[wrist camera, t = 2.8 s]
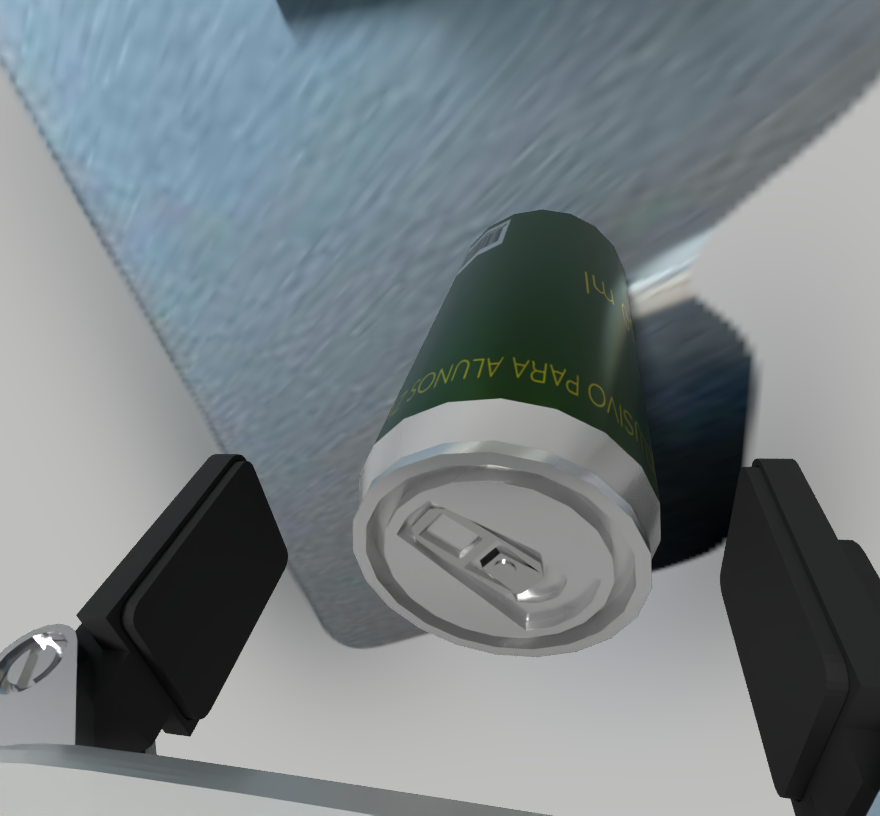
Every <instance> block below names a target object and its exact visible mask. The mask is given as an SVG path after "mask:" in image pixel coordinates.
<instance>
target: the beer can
mask: <svg viewBox="0 0 880 816" xmlns="http://www.w3.org/2000/svg"><path fill="white" fill-rule="evenodd" d="M660 541H661V533H660V501H659V494H658V488H657V481H656V475H655V468H654V462H653V455H652V449H651V442H650V436H649V429H648V423H647V416H646V410H645V403H644V396H643V390H642V383H641V377H640V370H639V364H638V357H637V351H636V344H635V338H634V331H633V325H632V318H631V312H630V305H629V299H628V292H627V286H626V279H625V273H624V269H623V267H622V264H621V262H620V260H619V257H618V255H617V253H616V250H615V248H614V246H613V245H612V244H611V243H610V242H609V241H608V240H607V239H606V238H605V237H604V235H603V234H602V233H601V232H600V231H599V230H598V229H597V228H596V227H595V226H593V225H591V224H589V223H587V222H585V221H583V220H581V219H579V218H577V217H575V216H573V215H572V214H568V213H561V212H555V211H548V210H537V211H531V212H525V213H519V214H514V215H512V216H510V217H508V218H506V219H504V220H502V221H500V222H499V223H497V224H495V225H493V226H491V227H489V228H488V229H487V230H486V231H485V232H484V233H483V235H482V236H481V237H480V238H479V239H478V240H477V241H476V242H475V243H474V244H473V245H472V246H471V248H470V250H469V252H468V254H467V256H466V258H465V260H464V262H463V264H462V266H461V268H460V270H459V272H458V274H457V276H456V278H455V280H454V282H453V285H452V287H451V289H450V291H449V293H448V295H447V297H446V299H445V301H444V303H443V305H442V307H441V309H440V311H439V313H438V315H437V317H436V319H435V321H434V323H433V325H432V327H431V329H430V332H429V334H428V336H427V338H426V340H425V342H424V344H423V346H422V348H421V350H420V352H419V354H418V356H417V358H416V360H415V362H414V364H413V366H412V368H411V370H410V372H409V374H408V376H407V379H406V381H405V383H404V385H403V387H402V389H401V391H400V393H399V395H398V397H397V399H396V401H395V403H394V405H393V407H392V409H391V411H390V413H389V415H388V417H387V419H386V421H385V424H384V426H383V428H382V430H381V432H380V434H379V436H378V438H377V440H376V442H375V444H374V446H373V448H372V450H371V452H370V455H369V457H368V459H367V461H366V463H365V465H364V467H363V469H362V472H361V474H360V476H359V509H358V511H357V513H356V515H355V517H354V520H353V552H354V554H355V556H356V558H357V561H358V563H359V565H360V568H361V570H362V572H363V575H364V577H365V579H366V581H367V582H368V583H369V584H370V585H371V587H372V588H373V589H374V590H375V591H376V592H377V593H378V595H379V596H380V597H381V598H382V599H383V600H384V601H385V603H386V604H387V605H388V606H389V607H390V608H392V609H393V610H395V611H396V612H397V613H399V614H400V615H402V616H403V617H404V618H406V619H407V620H409V621H410V622H412V623H413V624H414V625H416V626H417V627H419V628H420V629H422V630H425V631H427V632H429V633H431V634H434V635H436V636H438V637H440V638H443V639H445V640H447V641H449V642H452V643H454V644H456V645H460V646H464V647H468V648H473V649H477V650H481V651H484V652H488V653H493V654H498V655H514V656H515V655H516V656H530V657H540V656H547V655H555V654H562V653H570V652H577V651H579V650H582V649H584V648H587V647H590V646H592V645H595V644H597V643H600V642H602V641H605V640H608V639H610V638H612V637H613V636H614V635H615V634H617V633H618V632H619V631H620V630H621V629H623V628H624V627H625V626H626V625H628V624H629V623H630V622H631V621H633V620H634V619H635V618H636V617H637V616H638V614H639V612H640V610H641V608H642V606H643V605H644V603H645V600H646V599H647V596H648V595H649V593H650V591H651V589H652V574H651V560H652V557H653V555H654V553H655V551H656V549H657V547H658V545H659V543H660Z"/></svg>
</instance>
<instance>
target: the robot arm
mask: <svg viewBox="0 0 880 816" xmlns="http://www.w3.org/2000/svg"><path fill="white" fill-rule="evenodd" d="M287 560H288V552H287V549H286V546H285V544H284V541H283V539H282V536H281V534H280V531H279V529H278V526H277V524H276V521H275V519H274V516H273V514H272V511H271V509H270V507H269V504H268V502H267V499H266V497H265V494H264V492H263V489H262V487H261V484H260V482H259V479H258V477H257V474H256V472H255V469H254V467H253V465H252V464H251V463H250V462H248V461H246V459H245V458H244V457H243V456H242V455H239V454H215V455H212V456H211V457H209V458H208V459H207V461H206V462H205V463H204V464H203V465H202V467H201V468H200V469H199V470H198V471H197V472H196V474H195V475H194V476H193V477H192V478H191V480H190V481H189V482H188V483H187V484H186V486H185V487H184V488H183V489H182V490H181V492H180V493H179V494H178V495H177V496H176V497H175V499H174V500H173V501H172V502H171V503H170V505H169V506H168V507H167V508H166V509H165V510H164V512H163V513H162V514H161V515H160V517H159V518H158V519H157V520H156V521H155V522H154V524H153V525H152V526H151V527H150V528H149V529H148V531H147V532H146V533H145V534H144V535H143V537H142V538H141V539H140V540H139V541H138V542H137V544H136V545H135V546H134V547H133V548H132V550H131V551H130V552H129V553H128V555H127V556H126V557H125V558H124V559H123V560H122V561H121V563H120V564H119V565H118V566H117V567H116V569H115V570H114V571H113V572H112V573H111V575H110V576H109V577H108V578H107V579H106V581H105V582H104V583H103V584H102V585H101V586H100V588H99V589H98V590H97V591H96V592H95V594H94V595H93V596H92V597H91V598H90V599H89V601H88V602H87V603H86V604H85V605H84V607H83V608H82V609H81V610H80V611H79V613H78V614H77V617H78V618H79V620H80V621H81V622H82V624H81V625H80V626H79V627H78V629H77V630H76V631H75V630H73V629H72V628H71V627H70V626H67V625H62V624H55V625H47V626H45V627H42V628H39V629H36V630H33V631H31V632H30V633H28V634H26V635H24V636H22V637H20V638H19V639H18V640H16V641H15V642H13V643H12V644H11V645H9V646H8V647H7V648H5V649H4V650H3V651H2V652H1V653H0V816H551V815H544V814H538V813H532V812H526V811H520V810H513V809H507V808H501V807H494V806H488V805H482V804H475V803H469V802H462V801H457V800H450V799H444V798H437V797H431V796H424V795H418V794H411V793H404V792H398V791H392V790H385V789H379V788H372V787H366V786H359V785H352V784H346V783H340V782H333V781H326V780H320V779H313V778H307V777H300V776H294V775H287V774H281V773H274V772H267V771H261V770H253V769H247V768H240V767H233V766H227V765H219V764H213V763H206V762H200V761H193V760H186V759H179V758H173V757H165V756H159V755H157V754H156V745H155V739H156V738H157V736H158V734H159V732H160V730H161V729H163V730H164V732H165V733H169V734H176V735H184V736H191V734H192V732H193V730H194V729H195V727H196V725H197V723H198V721H199V719H203V718H204V717H205V716H206V715H207V714H208V713H209V711H210V710H211V708H212V706H213V704H214V702H215V701H216V699H217V697H218V695H219V693H220V691H221V689H222V687H223V685H224V683H225V682H226V680H227V678H228V676H229V674H230V672H231V670H232V668H233V666H234V665H235V663H236V661H237V659H238V657H239V655H240V653H241V651H242V649H243V647H244V645H245V643H246V642H247V640H248V638H249V636H250V634H251V632H252V630H253V628H254V627H255V625H256V623H257V621H258V619H259V617H260V615H261V613H262V611H263V609H264V608H265V605H266V604H267V602H268V600H269V598H270V596H271V594H272V592H273V590H274V589H275V587H276V585H277V583H278V581H279V579H280V577H281V575H282V573H283V571H284V570H285V567H286V565H287ZM720 585H721V592H722V596H723V600H724V604H725V607H726V611H727V615H728V618H729V622H730V625H731V629H732V633H733V636H734V640H735V643H736V647H737V651H738V655H739V658H740V662H741V666H742V669H743V673H744V677H745V680H746V684H747V688H748V691H749V695H750V699H751V702H752V705H753V710H754V713H755V717H756V720H757V724H758V728H759V731H760V735H761V739H762V743H763V746H764V749H765V754H766V757H767V761H768V764H769V768H770V772H771V775H772V779H773V782H774V786H775V789H776V790H777V793H778V794H779V796H780V797H783V798H790V799H791V802H792V805H793V809H794V812H795V815H796V816H880V579H879V577H878V575H877V573H876V571H875V570H874V568H873V566H872V564H871V563H870V561H869V559H868V557H867V556H866V554H865V552H864V551H863V549H862V548H861V547H860V545H859V544H857V543H856V542H854V541H853V540H838V539H837V537H836V535H835V533H834V531H833V529H832V527H831V525H830V523H829V522H828V520H827V518H826V516H825V514H824V512H823V510H822V508H821V507H820V505H819V503H818V501H817V499H816V498H815V495H814V493H813V492H812V490H811V488H810V486H809V484H808V482H807V480H806V479H805V476H804V475H803V473H802V471H801V469H800V467H799V465H798V464H797V462H796V461H795V460H793V459H755V460H754V461H753V463H752V466H751V467H742V468H741V470H740V474H739V479H738V484H737V489H736V494H735V499H734V505H733V510H732V515H731V520H730V525H729V531H728V536H727V541H726V546H725V551H724V557H723V562H722V567H721V574H720Z"/></svg>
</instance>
